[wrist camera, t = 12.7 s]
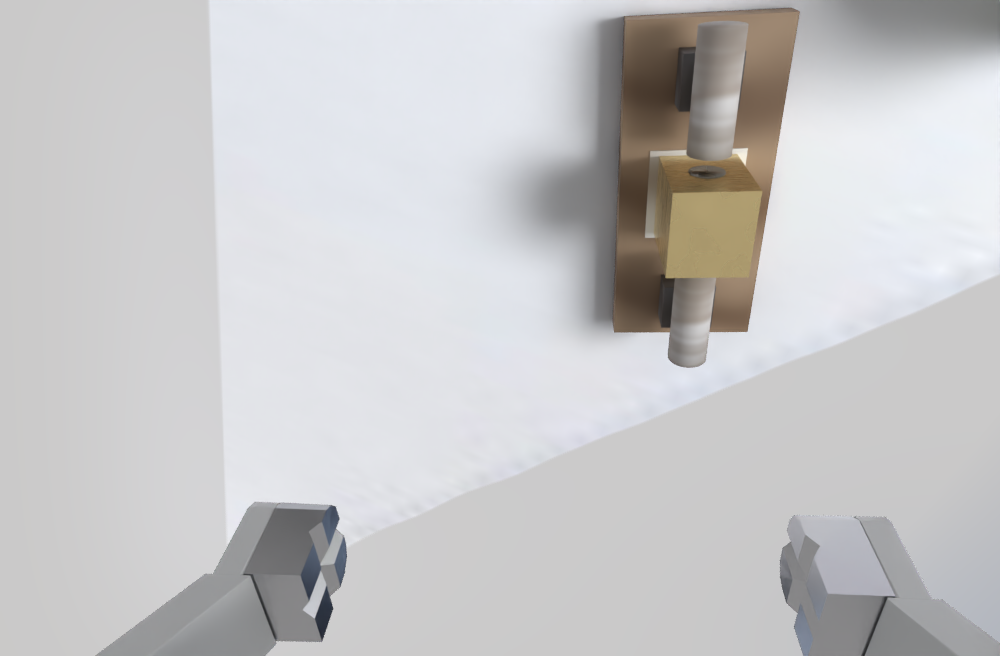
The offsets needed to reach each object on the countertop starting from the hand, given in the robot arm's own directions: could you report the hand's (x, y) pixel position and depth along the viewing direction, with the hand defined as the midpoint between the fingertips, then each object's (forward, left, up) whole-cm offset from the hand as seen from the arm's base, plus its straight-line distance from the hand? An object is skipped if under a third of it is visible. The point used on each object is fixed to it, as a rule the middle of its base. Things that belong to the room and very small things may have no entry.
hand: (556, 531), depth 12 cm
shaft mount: (+6, +8, -33) cm, 35 cm away
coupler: (+6, +8, -32) cm, 33 cm away
